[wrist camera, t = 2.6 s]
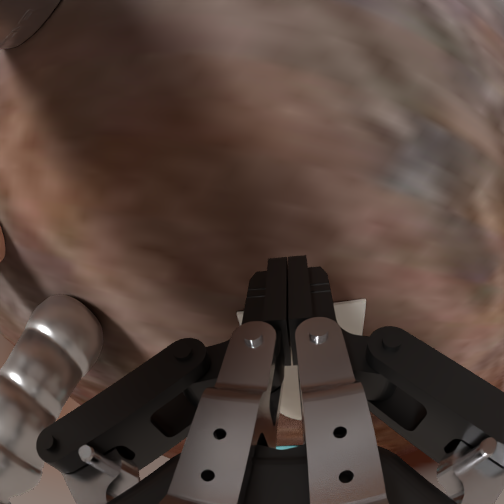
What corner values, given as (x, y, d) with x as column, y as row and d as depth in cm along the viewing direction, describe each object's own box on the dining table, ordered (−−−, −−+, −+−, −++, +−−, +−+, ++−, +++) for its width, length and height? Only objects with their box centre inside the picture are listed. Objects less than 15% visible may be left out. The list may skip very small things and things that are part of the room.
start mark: (236, 311, 17) (236, 313, 17) (365, 298, 15) (366, 300, 15) (258, 379, 21) (258, 381, 21) (355, 371, 19) (355, 373, 19)
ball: (259, 324, 17) (251, 398, 13) (345, 315, 16) (359, 389, 12) (271, 371, 20) (267, 433, 15) (341, 364, 19) (349, 427, 14)
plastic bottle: (118, 348, 21) (43, 539, 4) (62, 327, 21) (-20, 488, 4) (103, 295, 18) (-11, 531, 1) (42, 275, 18) (-73, 458, 1)
